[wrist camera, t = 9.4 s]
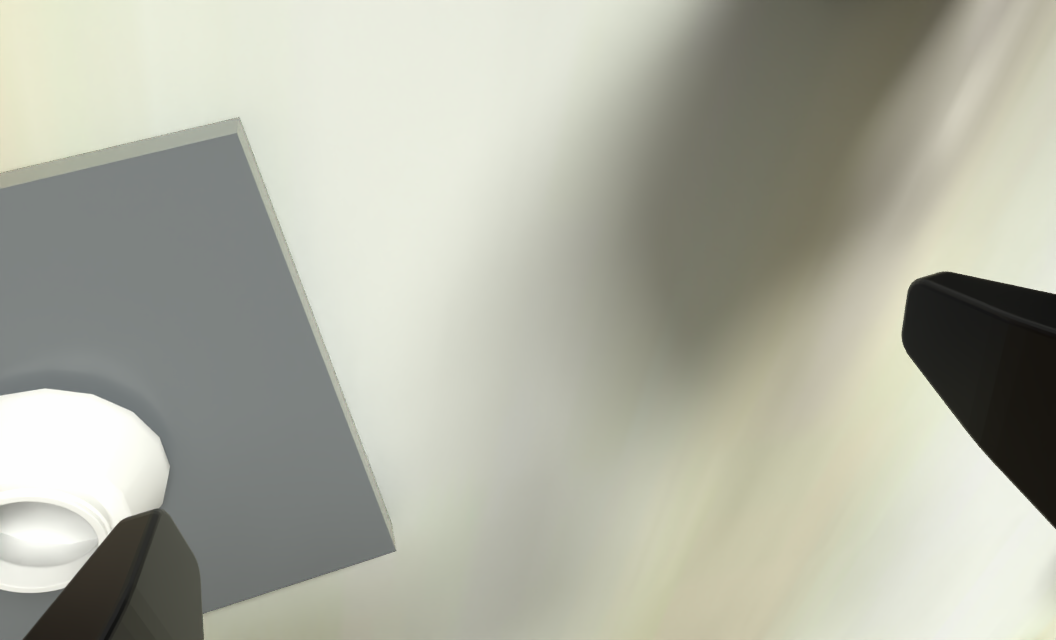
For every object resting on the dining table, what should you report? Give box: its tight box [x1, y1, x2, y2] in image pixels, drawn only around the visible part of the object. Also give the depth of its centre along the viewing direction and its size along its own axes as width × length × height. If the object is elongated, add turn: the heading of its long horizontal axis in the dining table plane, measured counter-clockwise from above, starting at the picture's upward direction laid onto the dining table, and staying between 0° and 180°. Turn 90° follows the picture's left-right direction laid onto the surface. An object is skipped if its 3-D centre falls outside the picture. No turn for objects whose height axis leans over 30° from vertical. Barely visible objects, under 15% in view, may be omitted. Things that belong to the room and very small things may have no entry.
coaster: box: [0, 117, 396, 640], centre depth 20 cm, size 14×14×1 cm
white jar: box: [0, 388, 170, 593], centre depth 18 cm, size 5×3×5 cm
